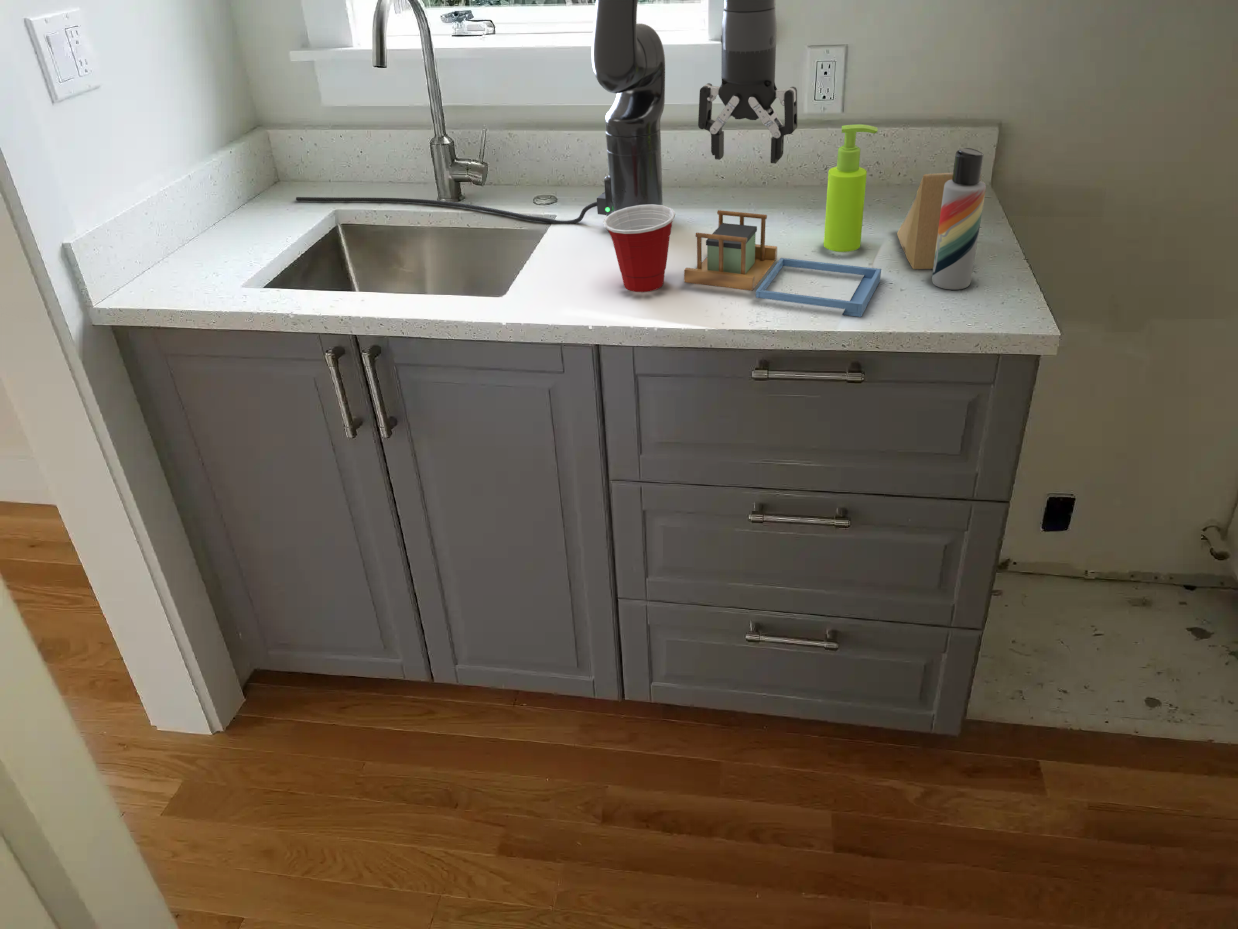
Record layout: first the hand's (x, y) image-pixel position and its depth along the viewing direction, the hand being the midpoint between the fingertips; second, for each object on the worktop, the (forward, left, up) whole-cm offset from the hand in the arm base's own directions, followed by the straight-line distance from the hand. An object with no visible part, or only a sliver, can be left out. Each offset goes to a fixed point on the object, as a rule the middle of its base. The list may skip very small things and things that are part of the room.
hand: (746, 160), depth 144 cm
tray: (+13, -3, -18) cm, 22 cm away
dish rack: (-2, -1, -18) cm, 18 cm away
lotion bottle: (+31, +6, -18) cm, 36 cm away
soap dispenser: (+13, +14, -18) cm, 26 cm away
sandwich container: (+26, +18, -18) cm, 36 cm away
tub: (-2, -1, -17) cm, 17 cm away
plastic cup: (-13, -10, -18) cm, 25 cm away
